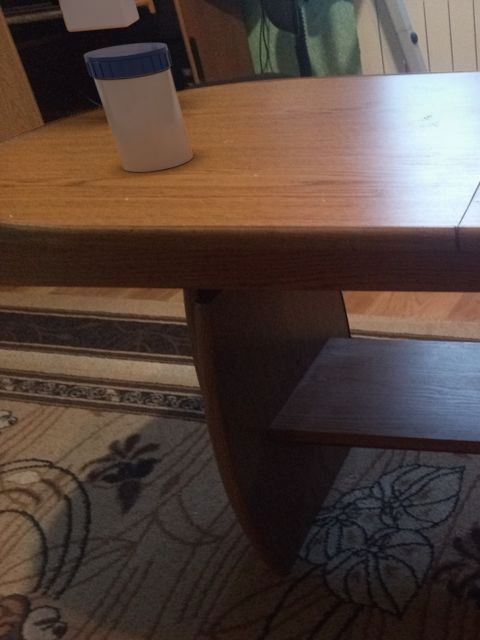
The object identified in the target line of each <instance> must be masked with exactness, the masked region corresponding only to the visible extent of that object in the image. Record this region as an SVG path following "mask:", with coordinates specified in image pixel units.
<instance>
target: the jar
mask: <svg viewBox="0 0 480 640" xmlns="http://www.w3.org/2000/svg"><path fill="white" fill-rule="evenodd" d="M93 80H94V83H95V87H96V90H97V93H98V97H99V99H100V101H101V104H102V109H103V111H104V114H105V119H106V121H107V124H108V128H109V130H110V133H111V136H112V140H113V142H114V146H115V149H116V153H117V156H118V158H119V162H120V164H121V168H122V169H123V170H124V171H126V172H131V173H147V172H148V173H149V172H157V171H163V170H168V169H171V168H175V167H178V166H181V165H184V164H186V163H188V162H190V161H192V159H193V158H194V152H193V148H192V145H191V141H190V138H189V134H188V129H187V126H186V122H185V117H184V114H183V111H182V107H181V103H180V99H179V95H178V92H177V88H176V85H175V81H174V77H173V73H172V69H171V66H170V67H169V68H167V69H164V70H161V71H157V72H153V73H149V74H144V75H138V76H131V77H122V78H94V77H93Z"/></svg>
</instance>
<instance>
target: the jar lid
mask: <svg viewBox="0 0 480 640" xmlns="http://www.w3.org/2000/svg"><path fill="white" fill-rule="evenodd" d="M83 58H84V64H85V66H86V70H87V72H88V73H87V74H88V75H89V76H90V77H91V78H93V79H94V78H122V77H131V76H138V75H144V74H149V73H153V72H157V71H161V70H164V69H167V68H169V67H170V68H171V67H172V65H173V60H172V56H171V52H170V49H169V48H168V44H167V43H165V42H164V43H163V42H141V43H140V42H139V43H129V44H120V45H113V46H107V47H103V48H98V49H95V50H91V51H87V52H86V53H84V54H83Z"/></svg>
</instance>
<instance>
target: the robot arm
mask: <svg viewBox="0 0 480 640" xmlns="http://www.w3.org/2000/svg"><path fill="white" fill-rule="evenodd" d="M50 2H51V6H52V7H53V6H59V2H58V0H50Z"/></svg>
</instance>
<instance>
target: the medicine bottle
mask: <svg viewBox="0 0 480 640" xmlns="http://www.w3.org/2000/svg"><path fill="white" fill-rule="evenodd" d="M58 2H59V5H58V6H59V9H60V13H61V16H62V18H63V21H64V25H65V27H66V30H67V31H68V32H72V33H73V32H84V31H95V30H96V31H97V30H105V29H116V28H118V29H119V28H127V27H129V26H131V25H132V24H134V23H135V22H137V21H138V20H139V19H140V16H139V15H140V14H139V12H138V8H137V5H136V0H58Z"/></svg>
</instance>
